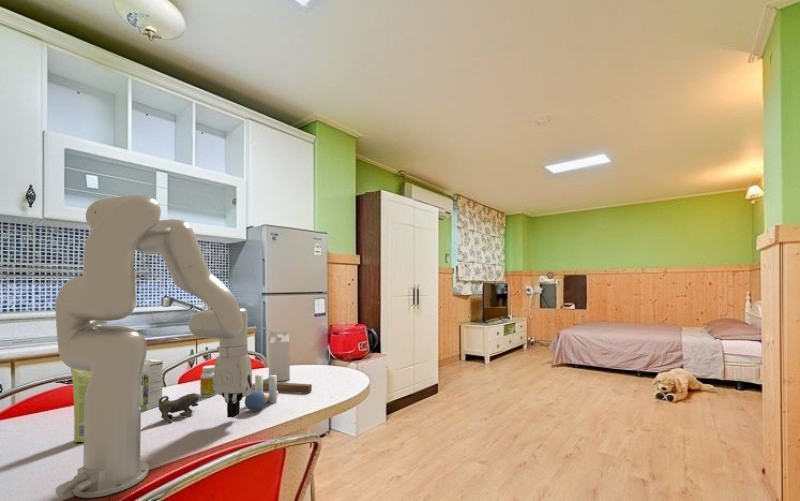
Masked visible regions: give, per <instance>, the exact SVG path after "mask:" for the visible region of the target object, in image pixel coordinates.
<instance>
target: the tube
mask: <svg viewBox="0 0 800 501" xmlns="http://www.w3.org/2000/svg"><path fill="white" fill-rule="evenodd" d="M70 372H71V379H72V380H71V381H72V392H73V394H72V395H73V418H74V419H73V420H74V421H73V423H74V425H73V426H74V428H73V429H74V431H73V432H74V434H73V436H74V438H73V440H74V442H75V443H76V442H82V443H84V400H85V393H86V389H87V387H88V384H89V382H90V379H91V376H92V372H91V371H82V370H77V369H73V368H70Z"/></svg>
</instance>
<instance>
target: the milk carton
mask: <svg viewBox="0 0 800 501" xmlns="http://www.w3.org/2000/svg"><path fill="white" fill-rule="evenodd" d="M290 344H291V343H290V336H289V329H284V330H283V329H282V330H271V331H269V336H268V377H269V376H270V375H277V382H285V381H290V380H291V379H290V377H291V373H290V372H291V371H290V370H291V368H290V366H291V365H290V363H291V361H290V358H291V355H290V354H291V353H290V352H291V351H290V347H291V346H290Z"/></svg>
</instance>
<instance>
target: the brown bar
mask: <svg viewBox="0 0 800 501" xmlns="http://www.w3.org/2000/svg"><path fill="white" fill-rule="evenodd" d="M263 391H266V392H267V391H268V392H269V381H263ZM277 391H278V392H282V393H296V392H301V393H300V394H310V393H312V392H311V391H313V390H312V383H296V382H295V383H293V382H281V381H277Z"/></svg>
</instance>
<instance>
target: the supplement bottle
mask: <svg viewBox="0 0 800 501" xmlns="http://www.w3.org/2000/svg"><path fill="white" fill-rule="evenodd" d="M214 367H215V365H213V364H211V365H206V366H205V365H204V366H203V367H202V373H201V375H200V378H199V379H200V383H199V384H200V385H199V386H200V388H199V390H200V393H199V395H200V397H202V398H210V397H214V396H216V395H217V394H216V392H215V391H214V390H213V376H214Z"/></svg>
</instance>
